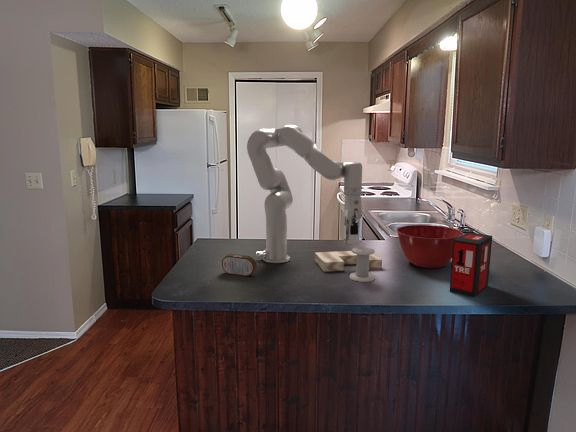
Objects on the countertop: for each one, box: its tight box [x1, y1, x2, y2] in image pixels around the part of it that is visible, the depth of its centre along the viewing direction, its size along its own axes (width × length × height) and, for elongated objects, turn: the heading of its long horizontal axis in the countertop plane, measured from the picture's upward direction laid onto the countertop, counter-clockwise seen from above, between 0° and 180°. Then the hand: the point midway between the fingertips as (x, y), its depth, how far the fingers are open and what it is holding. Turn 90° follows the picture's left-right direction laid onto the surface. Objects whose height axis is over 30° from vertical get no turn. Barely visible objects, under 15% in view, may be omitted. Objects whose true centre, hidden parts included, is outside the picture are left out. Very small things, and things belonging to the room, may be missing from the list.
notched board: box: [314, 250, 383, 272], centre depth 202 cm, size 26×16×4 cm, turn 101°
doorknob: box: [349, 246, 376, 283], centre depth 183 cm, size 10×10×12 cm
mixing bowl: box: [396, 224, 464, 269], centre depth 203 cm, size 28×28×16 cm
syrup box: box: [343, 210, 361, 245], centre depth 196 cm, size 6×6×14 cm
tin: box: [221, 253, 258, 277], centre depth 187 cm, size 15×3×8 cm, turn 71°
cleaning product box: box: [449, 232, 493, 298], centre depth 171 cm, size 16×9×20 cm, turn 140°
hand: (351, 232), depth 196 cm, fingers closed on syrup box, 6 cm apart
